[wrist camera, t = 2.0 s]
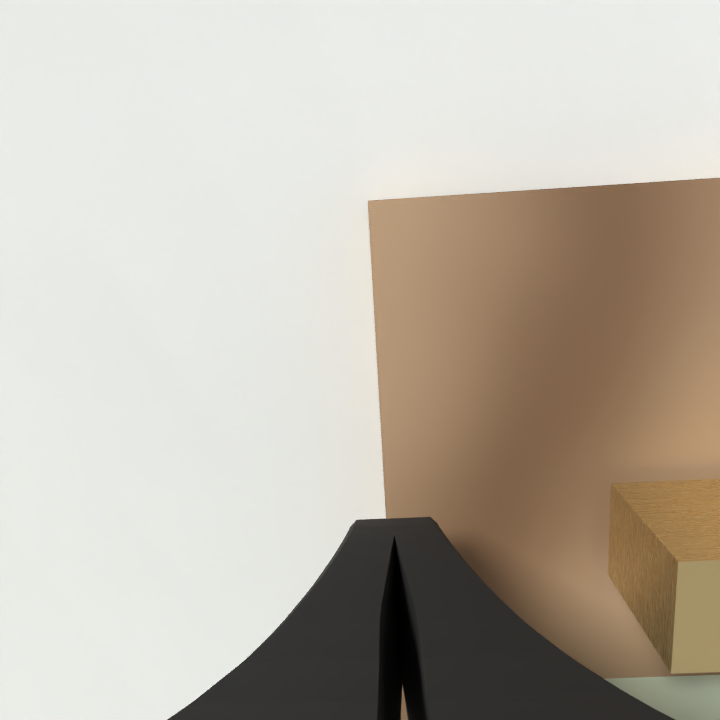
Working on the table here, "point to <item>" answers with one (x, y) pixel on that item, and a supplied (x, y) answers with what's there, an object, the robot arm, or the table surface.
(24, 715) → the table surface
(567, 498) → the board
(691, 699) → the tray
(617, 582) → the tan rectangular block
